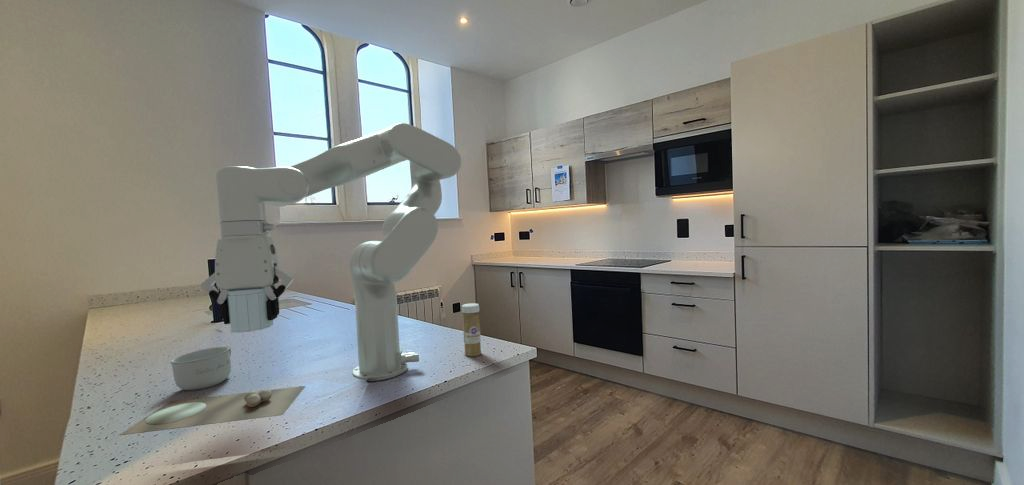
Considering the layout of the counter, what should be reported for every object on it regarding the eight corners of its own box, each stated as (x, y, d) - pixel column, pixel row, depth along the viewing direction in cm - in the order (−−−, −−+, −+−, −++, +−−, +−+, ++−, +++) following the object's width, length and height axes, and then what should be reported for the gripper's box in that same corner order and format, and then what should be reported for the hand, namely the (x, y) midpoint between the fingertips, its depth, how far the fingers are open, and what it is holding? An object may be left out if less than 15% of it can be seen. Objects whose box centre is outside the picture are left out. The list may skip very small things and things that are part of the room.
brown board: (305, 389, 89) (304, 375, 88) (282, 418, 75) (281, 401, 75) (170, 405, 84) (169, 389, 83) (119, 439, 70) (117, 421, 70)
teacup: (200, 397, 87) (197, 361, 86) (160, 395, 89) (157, 360, 89) (254, 373, 100) (251, 342, 100) (218, 372, 103) (215, 341, 102)
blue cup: (278, 322, 84) (275, 284, 83) (264, 330, 77) (261, 289, 77) (240, 325, 82) (237, 287, 82) (223, 334, 76) (219, 292, 75)
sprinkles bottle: (469, 358, 104) (467, 306, 104) (461, 354, 108) (458, 304, 108) (484, 354, 107) (482, 304, 107) (476, 350, 111) (473, 302, 110)
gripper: (298, 228, 84) (304, 312, 85) (204, 233, 81) (212, 320, 82) (285, 228, 77) (292, 320, 78) (182, 233, 74) (190, 329, 74)
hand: (251, 320), depth 80 cm, fingers closed on blue cup, 7 cm apart
